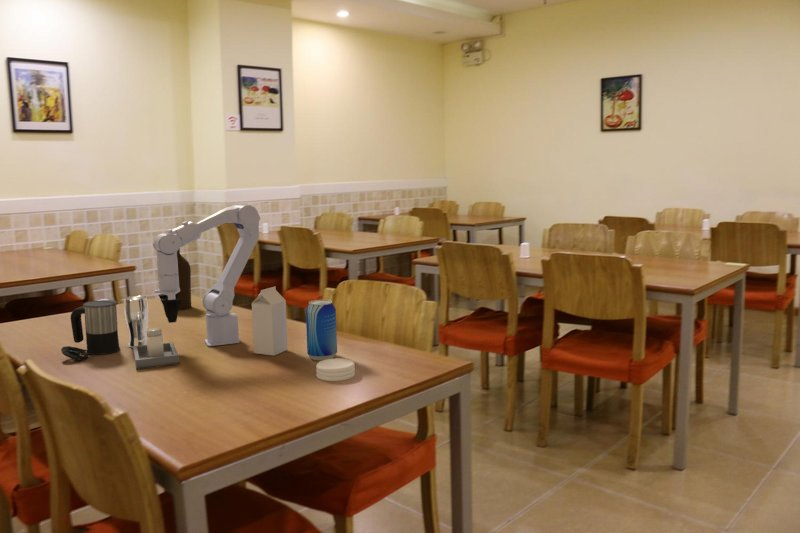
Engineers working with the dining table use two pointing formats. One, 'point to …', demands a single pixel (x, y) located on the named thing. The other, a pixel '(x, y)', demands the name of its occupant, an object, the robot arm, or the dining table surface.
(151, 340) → the salt shaker
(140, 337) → the beer glass
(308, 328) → the beer can
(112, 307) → the milk frother
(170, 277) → the robot arm
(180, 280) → the olive oil
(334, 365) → the white round container
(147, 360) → the tray
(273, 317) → the milk carton
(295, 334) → the dining table surface
